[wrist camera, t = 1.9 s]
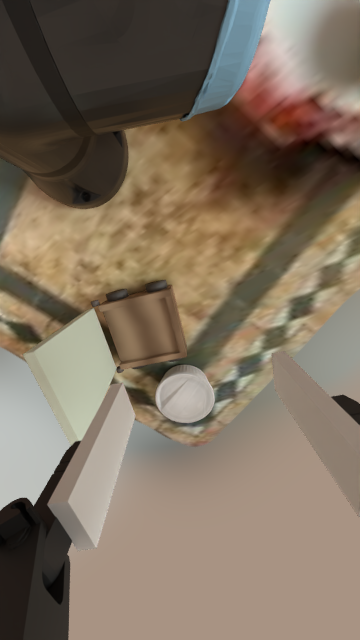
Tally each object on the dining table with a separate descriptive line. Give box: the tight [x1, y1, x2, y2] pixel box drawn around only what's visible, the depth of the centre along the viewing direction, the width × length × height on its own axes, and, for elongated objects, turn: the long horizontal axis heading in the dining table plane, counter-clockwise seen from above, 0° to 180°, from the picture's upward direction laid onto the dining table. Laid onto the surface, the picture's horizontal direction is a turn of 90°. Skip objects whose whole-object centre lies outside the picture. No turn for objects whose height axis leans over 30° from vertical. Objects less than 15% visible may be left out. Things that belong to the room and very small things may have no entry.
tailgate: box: [23, 308, 117, 446], centre depth 27 cm, size 1×12×16 cm, turn 13°
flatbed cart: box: [91, 280, 187, 373], centre depth 36 cm, size 13×14×5 cm
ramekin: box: [155, 365, 214, 423], centre depth 41 cm, size 11×11×5 cm
